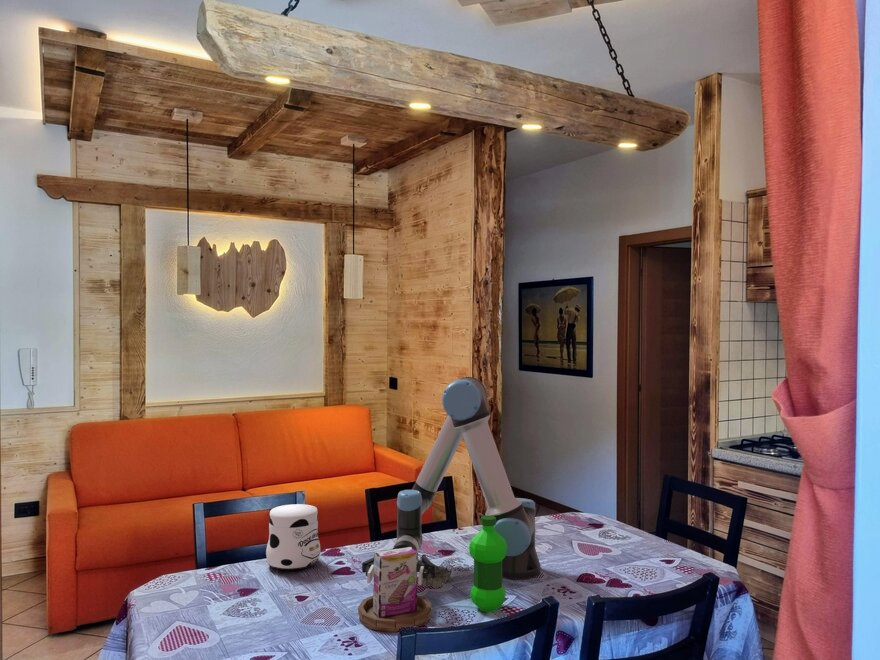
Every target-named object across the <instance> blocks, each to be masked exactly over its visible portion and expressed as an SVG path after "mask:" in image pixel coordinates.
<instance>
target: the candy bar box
mask: <svg viewBox="0 0 880 660" xmlns="http://www.w3.org/2000/svg"><path fill="white" fill-rule="evenodd" d="M418 554H419V552H417V551H416V550H414V549H413V548H412V547H406V548H399V549H393V548H391V549H386V550H380V551H379V550H378V551H374V552H373V557H374V576H373V585H372V586H373V588H372V589H373V592H372V593H373V595H372V596H373V613H374V614H375V615H376V616H377V617H378V618H385V617H391V616H396V615H401V614H406V613H411V612H416V611H417V595H418V572H417V569H418V558H419V557H418V556H419V555H418Z"/></svg>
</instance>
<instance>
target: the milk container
mask: <svg viewBox="0 0 880 660" xmlns="http://www.w3.org/2000/svg"><path fill="white" fill-rule="evenodd" d="M268 517H269V518H268V520H269V524H268V531H269V533H268V534H269V535H268V541H267V544H266V550H265V555H266V561H267V563H268V565H269V566H270V567H271V568H273V569H275V570H279V571H298V570H304V569H307V568H311V567H312V566H315V564H317V563H318V562H319V559H320V556H321V543H320V540H319V532H318V531H319V530H318V528H319V513H318V508H317V506H314V505H312V504H311V505H310V504H302V503H296V504H284V505H280V506H279V505H278V506H276V507H273V508H271V510H270V511H269V516H268Z"/></svg>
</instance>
